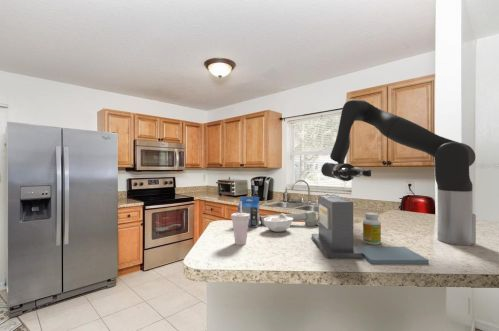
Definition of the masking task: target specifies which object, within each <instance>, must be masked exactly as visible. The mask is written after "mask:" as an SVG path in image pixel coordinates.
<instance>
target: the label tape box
mask: <svg viewBox="0 0 499 331" xmlns="http://www.w3.org/2000/svg"><path fill="white" fill-rule="evenodd" d="M240 201H242V213H248V214H250V218H249V223H248V228H249V227H252V228H259V226H260V197H259V196H239V203H238V206H237V213H240Z"/></svg>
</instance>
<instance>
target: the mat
mask: <svg viewBox="0 0 499 331" xmlns="http://www.w3.org/2000/svg"><path fill="white" fill-rule="evenodd" d="M354 246H355V247H356V248H358V249H359V250H360V251H361V252H362V253H363V259H365V260H366V262H368V263H369V264H371V265H374V264H375V265H377V264H381V265H383V264H384V265H385V264H387V265H390V264H391V265H394V264H396V265H400V264H401V265H402V264H403V265H404V264H405V265H412V264H413V265H418V264H419V265H420V264H421V265H422V264H423V265H428V264H429V262H430V261H429V259H428V258H427V257H424V256H422V255H420V254H419V253H417V252H416V251H415V252H414V251H413V250H412V249H410V248H408V247H406V246H374V245H372V246H371V245H370V246H356V245H354Z"/></svg>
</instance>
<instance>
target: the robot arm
mask: <svg viewBox="0 0 499 331" xmlns="http://www.w3.org/2000/svg"><path fill="white" fill-rule="evenodd" d="M358 121H359V122H363V123H366V124H369V125H371V126H373V127H374V128H376V129H377V131H379V132H380V133H381V134H382V135H383V136H384V137H386V138H387V139H389V140H391V141H393V142H395V143H396V144H397V143H398V144H400V145H402V146H405V147H407V148H411V149H413V150H417V151H421V152H423V153H425V154H427V155H430V156H432V157H433V158H434V177H435V178H434V179H435V183H436V185H437V186H436V187H437V189H436V190H437V240H439V241H440V242H443V243H446V244H451V245H458V246H459V245H460V246H471V245H475V244H476V243H477V241H476V240H477V215H476V214H475V213H473V209H474V208H473V203H474V202H473V199H474V198H473V197H474V196H473V192H474V191H473V189H474V188H473V187H474V186H473V185H474V184H473V182H472V180H471V177H470V167H471V166H473V164H474V163H475V161H476V153H475V151H474V149H473V148H472V147H471V146H470V145H467V144H466V143H464V142H463V143H462V142H460V141H456V140H452V139H449V138H447V137H443V136H442V135H441V136H440V135H438V134H436V133H435V132H432V131H430V130H429V129H427V128H425V127H423V126H421V125H419V124H417V123H415V122H413V121H411V120H409V119H406V118H404V117H403V116H399V115H396V114H394V113H391V112H388V111H385V110H382V109H380V108H378V107H376V106H374V105H373V104H371V103H370V102H368V101H366V100H362V99H350V100H347V101H346V102H345V103H344V104H343V106H342V109H341V114H340V118H339V124H338V127H337V128H338V130H337V132H336V133H337V134H336V139H335V141H334V145H333V147H332V149H331V153H330V154H329V155H330V156H329V158H330V159H331V160H332V161H334V162H336V163H332V162H325V163H323V164H322V166H321V168H320V170H321V172H320V173H321V174H322V175H323V176H324V177H327V178H328V177H329V178H332V179H336V180H339V181H344V182H349V181H351V180H353V179H354V178H362V177H364V178H367V177H372V169H364V168H356V167H354V165H352V164H350V163H345V161H346V157H347V154H348V152H349V149H350V144H351V138H350V136H351V130H352V127H353V125H354V123H355V122H358Z"/></svg>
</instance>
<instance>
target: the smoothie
mask: <svg viewBox="0 0 499 331" xmlns="http://www.w3.org/2000/svg"><path fill="white" fill-rule="evenodd" d="M239 203H240V213H238V212H234V213H232V214H231V215H230V219H231V222H232V229H233V237H234V244H235V245H236V246H237V245H238V246H243V245H246V244H247V239H248V230H249V227H248V223H249V218H250V214H248V213H242V201H240V200H239Z"/></svg>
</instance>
